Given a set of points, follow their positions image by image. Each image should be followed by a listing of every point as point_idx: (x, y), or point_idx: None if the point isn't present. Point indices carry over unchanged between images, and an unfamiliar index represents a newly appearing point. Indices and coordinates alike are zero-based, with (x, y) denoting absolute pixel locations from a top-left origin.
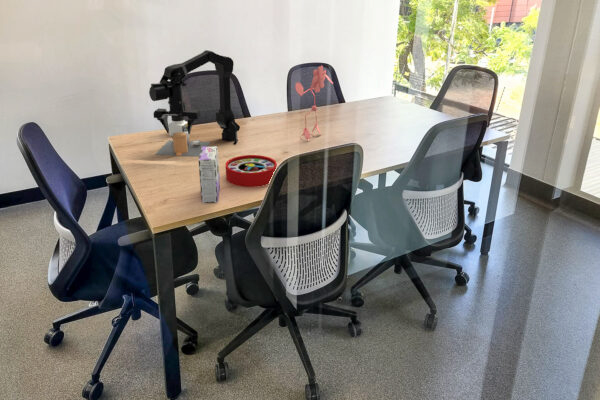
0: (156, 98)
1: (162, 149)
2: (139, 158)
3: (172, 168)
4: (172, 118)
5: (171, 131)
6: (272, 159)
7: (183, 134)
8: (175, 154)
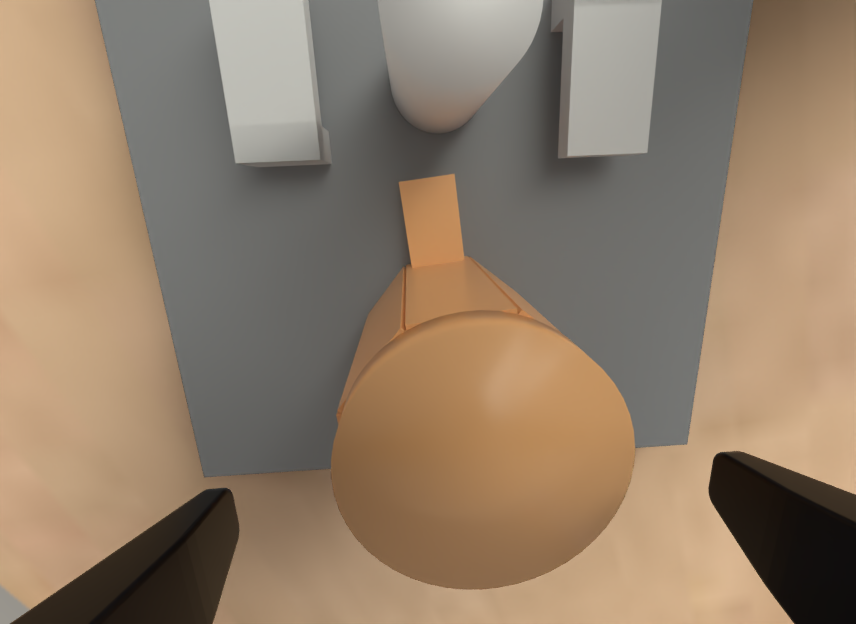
0: None
1: (198, 305)
2: (78, 483)
3: (475, 619)
4: None
5: None
6: None
7: (583, 486)
8: None
